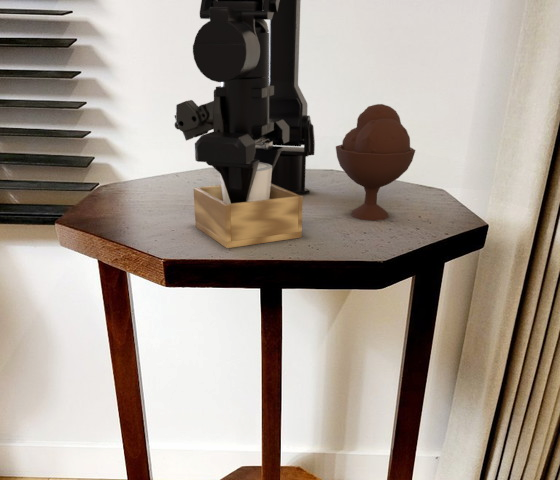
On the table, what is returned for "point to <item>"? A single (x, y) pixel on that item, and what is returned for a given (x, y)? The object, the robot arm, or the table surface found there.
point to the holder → (248, 217)
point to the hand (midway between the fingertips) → (247, 208)
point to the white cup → (255, 184)
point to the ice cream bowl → (375, 156)
